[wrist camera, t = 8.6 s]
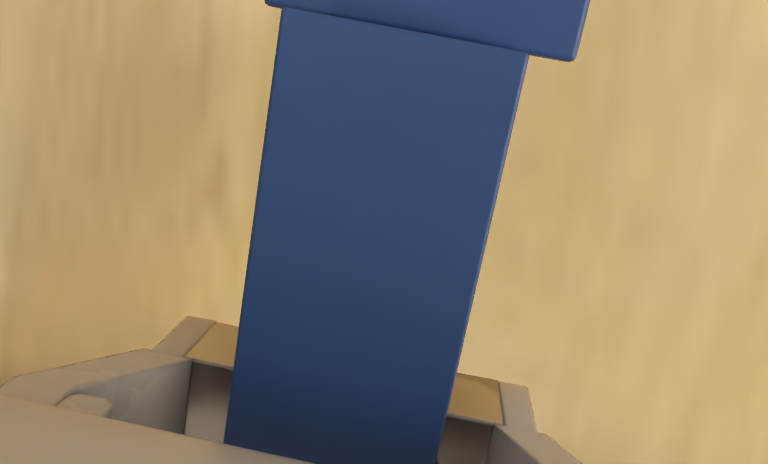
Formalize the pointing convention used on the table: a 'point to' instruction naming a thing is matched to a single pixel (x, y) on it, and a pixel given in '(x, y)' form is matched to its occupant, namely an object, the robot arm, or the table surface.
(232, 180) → the table surface
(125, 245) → the table surface
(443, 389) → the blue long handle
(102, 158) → the table surface
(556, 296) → the table surface
